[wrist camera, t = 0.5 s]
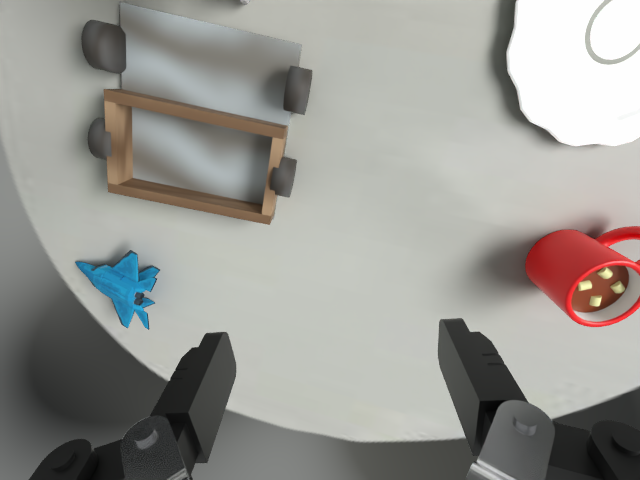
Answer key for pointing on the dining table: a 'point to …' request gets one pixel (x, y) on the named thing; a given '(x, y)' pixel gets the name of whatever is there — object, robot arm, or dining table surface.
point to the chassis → (196, 112)
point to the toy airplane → (124, 286)
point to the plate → (577, 69)
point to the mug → (587, 275)
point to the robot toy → (245, 1)
